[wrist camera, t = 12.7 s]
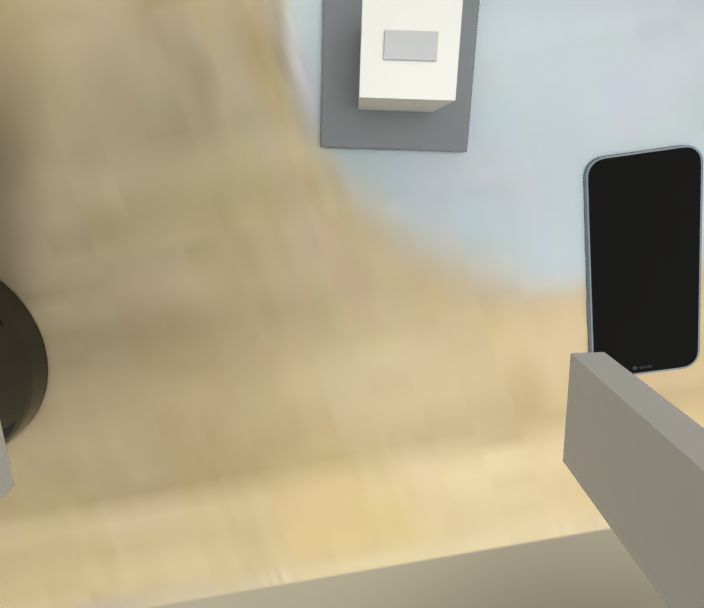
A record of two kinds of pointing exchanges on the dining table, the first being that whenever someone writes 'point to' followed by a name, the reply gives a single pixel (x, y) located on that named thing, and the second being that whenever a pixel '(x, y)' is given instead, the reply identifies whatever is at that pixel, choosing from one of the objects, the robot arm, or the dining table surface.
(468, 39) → the coaster
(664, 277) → the smartphone
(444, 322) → the dining table surface
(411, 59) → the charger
